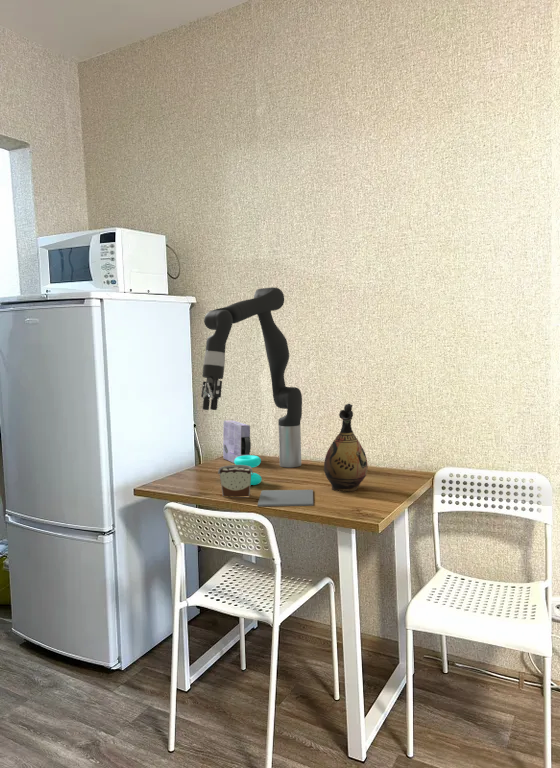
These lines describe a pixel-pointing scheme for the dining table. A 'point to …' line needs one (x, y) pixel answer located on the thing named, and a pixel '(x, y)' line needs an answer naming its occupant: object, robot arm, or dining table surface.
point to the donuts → (252, 462)
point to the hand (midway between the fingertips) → (209, 409)
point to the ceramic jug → (345, 457)
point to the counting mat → (286, 498)
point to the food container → (235, 480)
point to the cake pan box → (235, 440)
